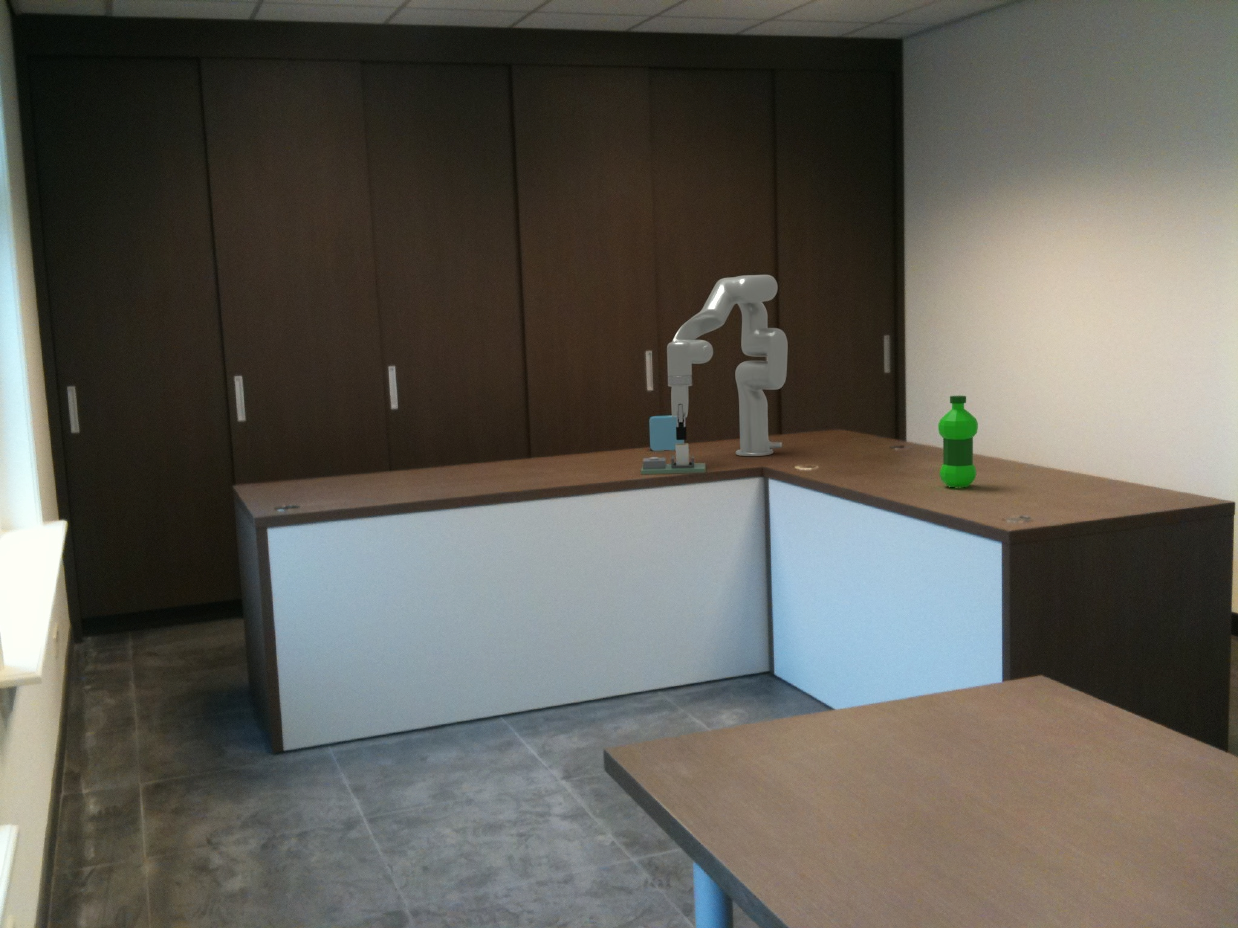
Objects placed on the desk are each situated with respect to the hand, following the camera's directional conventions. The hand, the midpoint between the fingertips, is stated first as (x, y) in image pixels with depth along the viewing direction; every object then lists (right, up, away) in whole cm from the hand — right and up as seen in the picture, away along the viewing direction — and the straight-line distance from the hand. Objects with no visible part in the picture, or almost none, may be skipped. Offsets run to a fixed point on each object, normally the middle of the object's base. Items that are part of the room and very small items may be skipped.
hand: (681, 439), depth 383 cm
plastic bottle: (+74, -14, -48) cm, 89 cm away
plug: (+1, -9, +1) cm, 9 cm away
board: (-2, -10, +2) cm, 10 cm away
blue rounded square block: (-2, -3, +50) cm, 51 cm away
